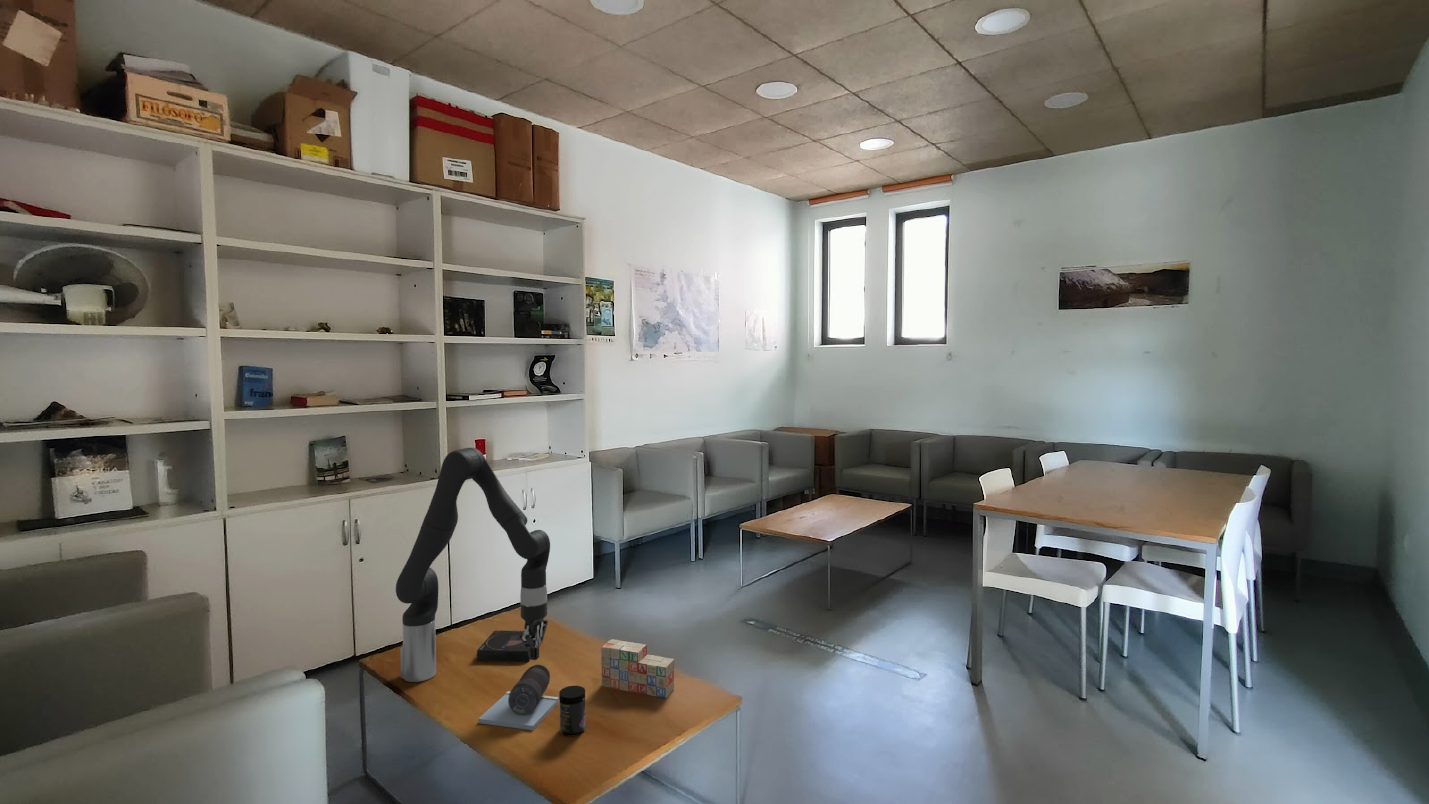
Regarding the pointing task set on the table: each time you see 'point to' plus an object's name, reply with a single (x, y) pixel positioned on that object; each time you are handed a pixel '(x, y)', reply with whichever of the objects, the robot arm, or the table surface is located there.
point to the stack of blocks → (636, 669)
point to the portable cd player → (504, 647)
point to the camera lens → (529, 690)
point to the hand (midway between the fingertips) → (534, 658)
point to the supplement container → (572, 710)
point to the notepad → (507, 718)
